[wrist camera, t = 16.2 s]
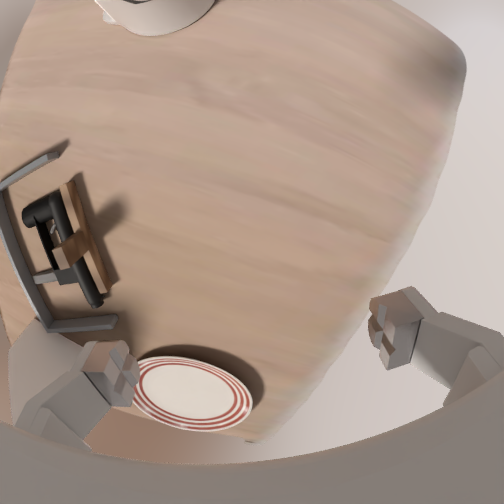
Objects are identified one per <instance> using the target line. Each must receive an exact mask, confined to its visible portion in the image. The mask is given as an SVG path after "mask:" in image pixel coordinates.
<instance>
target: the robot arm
mask: <svg viewBox="0 0 504 504" xmlns="http://www.w3.org/2000/svg"><path fill="white" fill-rule="evenodd" d="M94 1H95V2H96V3H97V4H98V5H99V6H100V7H101V8H102V9H103V10H104V13H103V20H104V21H105V22H106V23H108V24H114V25H121V26H123V27H124V28H126V29H127V30H129V31H130V32H133V33H135V34H139V35H145V36H156V35H163V34H168V33H171V32H175V31H177V30H180V29H182V28H184V27H186V26H188V25H190V24H192V23H193V22H195V21H196V20H198V19H199V18H200V17H202V16H203V15H204V14H205V13H206V12H207V11H208V10H209V9H210V7H211V6H212V4H213V3H214V1H215V0H94ZM369 309H370V311H371V312H372V316H371V317H370V319H369V320H368V330H369V336H370V339H371V342H372V344H373V346H374V347H376V348H378V349H380V354H379V357H380V359H381V361H382V363H383V364H384V366H385V368H386V370H390V369H393V368H396V367H399V366H402V365H405V364H408V363H410V364H411V365H412V366H414V367H415V368H417V369H419V370H420V371H422V372H423V373H425V374H427V375H428V376H430V377H431V378H433V379H435V380H436V381H438V382H440V383H441V384H443V385H444V386H446V387H447V388H449V389H451V390H450V392H449V393H448V395H447V397H446V399H445V401H444V403H443V406H444V407H442V408H440V409H438V410H436V411H434V412H432V413H430V414H428V415H426V416H424V417H422V418H419V419H417V420H415V421H413V422H410V423H408V424H405V425H403V426H401V427H398V428H396V429H393V430H390V431H388V432H385V433H382V434H379V435H377V436H374V437H370V438H367V439H364V440H361V441H358V442H354V443H351V444H347V445H344V446H340V447H336V448H332V449H328V450H324V451H319V452H315V453H310V454H305V455H299V456H294V457H288V458H281V459H274V460H266V461H257V462H247V463H230V464H177V463H162V462H151V461H142V460H134V459H128V458H120V457H115V456H110V455H105V454H100V453H95V452H91V451H92V449H91V447H90V446H89V445H88V444H86V443H85V442H84V441H83V439H84V438H85V437H86V436H87V435H88V434H89V432H90V431H91V430H92V429H93V428H94V427H95V426H96V424H97V423H98V422H99V421H100V420H101V419H102V418H103V417H104V415H105V414H106V413H107V412H108V411H109V409H111V406H117V407H131V404H132V401H133V398H134V395H135V391H134V389H133V387H134V386H135V385H136V384H138V382H139V379H140V367H139V364H138V362H137V360H136V359H135V357H133V356H132V355H130V354H129V347H128V345H127V344H126V342H125V341H123V340H104V341H89V342H87V343H86V344H85V345H84V347H83V349H82V350H81V352H80V354H79V356H78V357H77V359H76V361H75V363H74V364H73V366H72V368H71V370H70V371H66V372H65V373H64V374H62V375H61V376H60V377H58V378H57V379H56V380H55V381H53V382H52V383H51V384H49V385H48V386H47V387H45V388H44V389H43V390H41V391H40V392H39V393H38V394H36V395H35V396H34V397H32V398H31V399H30V400H29V401H27V402H26V404H25V406H24V408H23V410H22V412H21V414H20V416H19V418H18V420H17V422H16V424H15V426H12V425H10V424H8V423H6V422H4V421H1V420H0V504H504V337H503V336H502V335H501V333H500V332H497V331H494V330H491V329H488V328H486V327H483V326H480V325H477V324H475V323H472V322H469V321H466V320H463V319H461V318H458V317H455V316H452V315H449V314H446V313H444V312H440V313H438V312H437V311H436V310H435V309H434V308H433V307H432V306H431V304H430V303H429V302H428V301H427V300H426V299H425V298H424V297H423V296H422V295H421V294H420V293H419V292H418V291H417V290H416V288H414V287H412V286H410V287H407V288H404V289H401V290H398V291H396V292H393V293H389V294H385V295H382V296H378V297H374V298H371V301H370V306H369Z"/></svg>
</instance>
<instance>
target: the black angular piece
mask: <svg viewBox="0 0 504 504" xmlns="http://www.w3.org/2000/svg"><path fill="white" fill-rule="evenodd" d="M52 219H54V222H55V223H54V224H53V226H52V228H51V230H50V233H51V234H53V233H54V230H55V228H57V231H58V234H59V236H60V239H61V242H63V241H64V240H66V239H67V238H69V237H70V236H71V235H73V234H75V233H74V231H73V228H72V225H71V222H70V219H69V217H68V214H67V211H66V208H65V204H64V201H63V198H62V195H61V192H59V191H56V192H54V193H52V194H51V195H50V196H47V197H45V198H43V199H41V200H39V201H37V202H35V203H33V204H31V205H29V206H27V207H25V208H24V209H23V211H22V220H23V223H24V224H25V226H26V227H28V228H32V227H34V226H36V227H37V230H38V233H39V236H40V239H41V241H42V244H43V247H44V249H45V252H46V254H47V257H48V259H49V262H50V264H51V266H52V269H53V270H49V271H45V272H41V273H37V274H35V275H34V276H33V279H34V281H35V283H36V284H42V283H48V282H53V281H58V282H59V284H60V285H64V284H71V283H77V282H78V283H79V285H80V287H81V289H82V291H83V293H84V295H85V297H86V299H87V301H88V303H89V304H90V305H91V307H92V308H93V309H95V308H98V307H100V306H102V305H103V303H104V301H103V297H105V296H102V293H101V294H100V292H99V290H98V288H97V286H96V283H95V281H94V279H93V277H92V275H91V273H90V270H89V268H88V266H87V263H86V261H85V259H84V256H82V257H81V258H80V259H79V260H78V261H76V262H75V263H74V264H73V265H72V266H71V267H70V268H67V269H63V270H60V268H59V266H58V264H57V261H56V259H55V257H54V254H53V252H52V250H53V249H54V248H55V247H54V245H53V242H52V240H51V237H50V234H49V231H48V228H47V226H46V223H45V222H46V221H49V220H52Z"/></svg>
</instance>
